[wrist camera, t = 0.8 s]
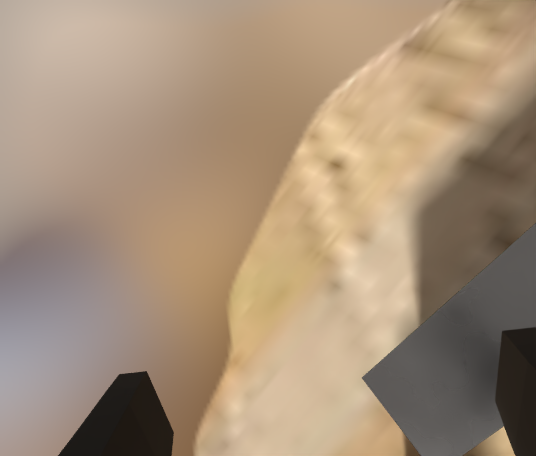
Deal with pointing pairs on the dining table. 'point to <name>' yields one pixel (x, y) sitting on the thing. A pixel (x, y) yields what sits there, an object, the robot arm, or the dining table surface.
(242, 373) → the dining table surface
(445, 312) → the block
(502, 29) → the dining table surface
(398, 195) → the dining table surface
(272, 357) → the dining table surface
